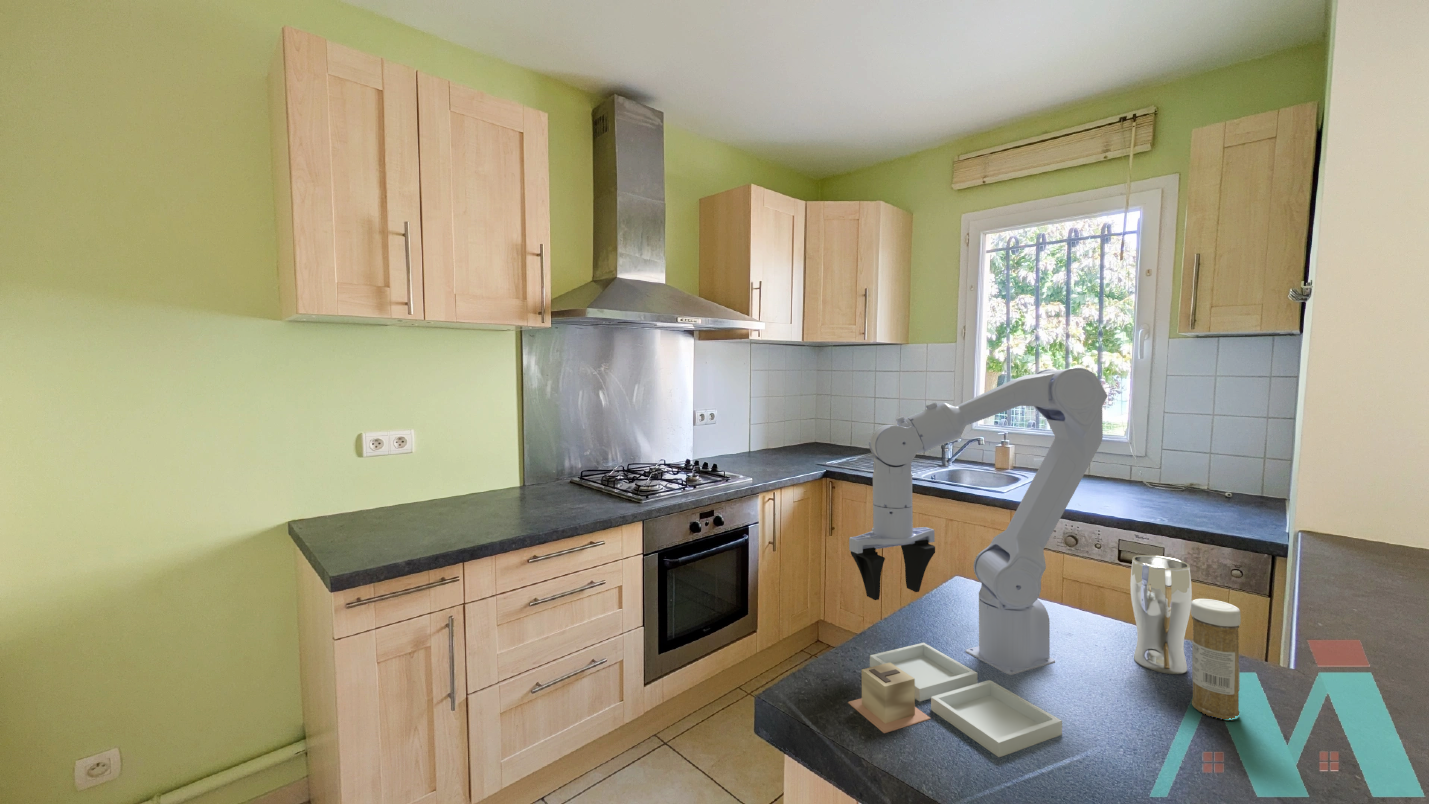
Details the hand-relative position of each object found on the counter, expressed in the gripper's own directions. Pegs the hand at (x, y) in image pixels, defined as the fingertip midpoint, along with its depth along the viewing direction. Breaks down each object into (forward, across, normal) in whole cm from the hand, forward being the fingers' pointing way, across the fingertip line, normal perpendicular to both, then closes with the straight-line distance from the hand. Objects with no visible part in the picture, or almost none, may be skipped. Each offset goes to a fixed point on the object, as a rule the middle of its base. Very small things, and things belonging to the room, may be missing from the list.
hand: (893, 593), depth 86 cm
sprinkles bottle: (+10, -26, +28) cm, 39 cm away
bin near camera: (+9, +1, +19) cm, 21 cm away
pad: (+9, +11, +12) cm, 19 cm away
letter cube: (+9, +11, +12) cm, 19 cm away
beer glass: (+10, -33, +18) cm, 39 cm away
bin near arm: (+9, +1, +7) cm, 12 cm away
